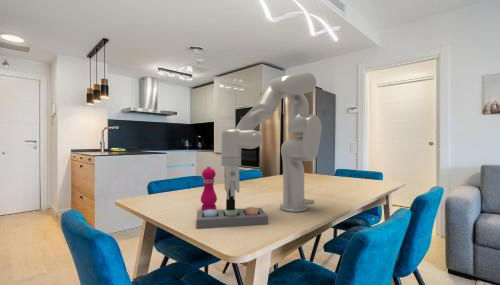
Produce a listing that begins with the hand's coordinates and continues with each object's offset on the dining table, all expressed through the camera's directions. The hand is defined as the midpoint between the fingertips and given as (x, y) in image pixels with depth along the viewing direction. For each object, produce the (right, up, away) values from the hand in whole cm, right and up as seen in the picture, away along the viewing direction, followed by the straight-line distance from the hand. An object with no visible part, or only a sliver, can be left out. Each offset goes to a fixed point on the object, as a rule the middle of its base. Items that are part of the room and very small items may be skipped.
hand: (230, 209), depth 99 cm
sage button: (0, -3, 0) cm, 3 cm away
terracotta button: (+8, -3, +2) cm, 9 cm away
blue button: (-8, -3, -1) cm, 8 cm away
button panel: (0, -5, 0) cm, 5 cm away
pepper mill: (-11, -5, +17) cm, 21 cm away
